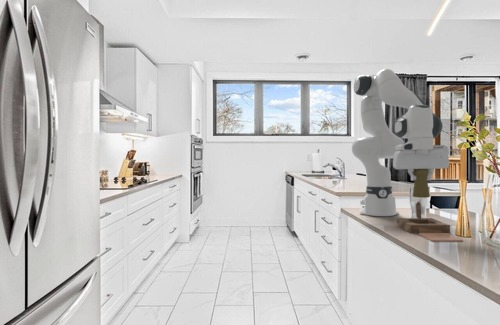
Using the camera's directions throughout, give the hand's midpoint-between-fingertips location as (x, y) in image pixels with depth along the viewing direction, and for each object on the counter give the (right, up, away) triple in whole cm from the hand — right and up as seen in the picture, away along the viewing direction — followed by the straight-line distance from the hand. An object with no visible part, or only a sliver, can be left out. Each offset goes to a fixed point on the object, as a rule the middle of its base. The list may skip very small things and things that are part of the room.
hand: (420, 180), depth 126 cm
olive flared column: (0, -7, 0) cm, 7 cm away
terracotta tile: (-1, -19, -14) cm, 24 cm away
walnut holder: (0, -19, 0) cm, 19 cm away
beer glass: (+7, -19, +14) cm, 25 cm away
